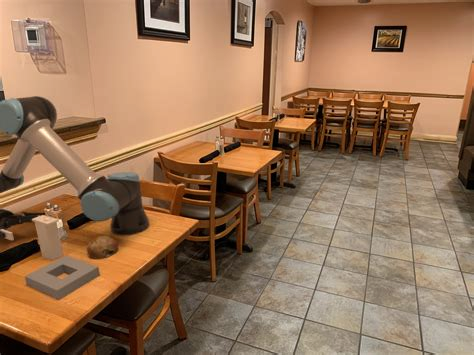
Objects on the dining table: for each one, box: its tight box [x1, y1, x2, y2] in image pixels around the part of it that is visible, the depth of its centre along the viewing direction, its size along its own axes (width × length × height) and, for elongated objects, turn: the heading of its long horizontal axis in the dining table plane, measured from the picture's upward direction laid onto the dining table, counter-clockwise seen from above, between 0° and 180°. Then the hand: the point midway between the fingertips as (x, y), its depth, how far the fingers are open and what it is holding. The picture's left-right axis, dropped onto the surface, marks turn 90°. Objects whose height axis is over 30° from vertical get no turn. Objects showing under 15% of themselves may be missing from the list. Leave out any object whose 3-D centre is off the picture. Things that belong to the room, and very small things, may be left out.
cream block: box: [32, 214, 64, 261], centre depth 122 cm, size 4×9×15 cm, turn 60°
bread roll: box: [86, 235, 119, 260], centre depth 125 cm, size 10×10×8 cm
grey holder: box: [24, 254, 101, 300], centre depth 109 cm, size 14×16×3 cm
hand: (31, 229), depth 127 cm, fingers open, 13 cm apart
